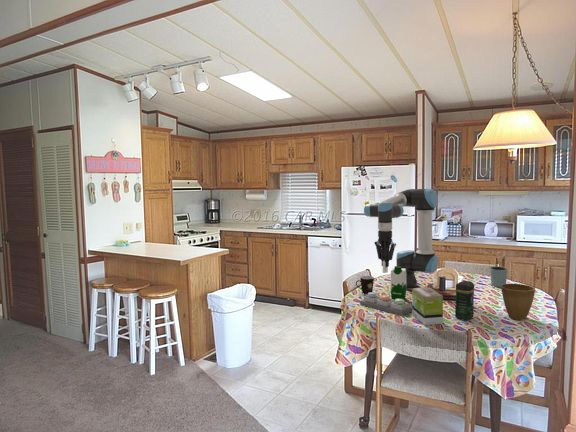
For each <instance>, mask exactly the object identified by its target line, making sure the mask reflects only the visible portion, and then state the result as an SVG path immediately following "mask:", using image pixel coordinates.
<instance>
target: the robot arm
mask: <svg viewBox="0 0 576 432" xmlns="http://www.w3.org/2000/svg"><path fill="white" fill-rule="evenodd" d="M438 205H439V195H438V194H437V191H435V189H432V188H410V189H405V190H402V191H399V192H396V193H395V194H394V195H393V196H391V197H388V198H386V199H384V200H381V201H378V202H376V203H370V204H369V203H367V204H366V205H365V206H364V208H363V214H364V216H366V217H369V218H377V220H378V221H377V236H378V239H377V240H376V241H374V245H375V249H376V253H377V259H378V260H381V267H382V273H383V274H386V273H388V271H389V269H388V268H389V266H390V261H392V260H393V257H394V252H395V248H396V247H397V243H395V242H393V231H392V230H393V219H399V218H400V217H402V216H403V215H404V208H405V207H408V208H409V207H410V208H411V207H412V208H415V209H414V210H415V211H416V212H417V245H418V246H417V250H416V251H415V250H401V251H397V253H396V257H395V260H396V266H401V267H402V268H404V269H406V289H409V288H411V289H412V288H416V287H417V286H418V281H417V276H416V274H415V272H419V273H425V274H433V273H435V272H436V271H437V269H438V265H439V257H438V255H436V254H435V253H436V252H435V251H434V250H433V212H434V211H435V208H437V206H438Z"/></svg>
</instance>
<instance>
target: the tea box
mask: <svg viewBox="0 0 576 432" xmlns="http://www.w3.org/2000/svg"><path fill="white" fill-rule="evenodd" d="M411 289H412V290H411V291H412V292H411V295H412V299H411V300H412V302H411V304H412V306H411V307H412V313H411V314H412V316H413V317H414V318H416V320H417V321H419V322H420V323H421V324H422V325H424V326H431V325H432V326H433V325H442V324H444V295H442V294H441V293H439V292H438V291H436V290H435V289H433V288H431V287H419V288H416V287H412V288H411Z"/></svg>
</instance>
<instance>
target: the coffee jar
mask: <svg viewBox="0 0 576 432" xmlns="http://www.w3.org/2000/svg"><path fill="white" fill-rule="evenodd" d="M474 294H475V284H474V283H473V282H472V281H469V280H462V281H459V282H457V283H456V285H455V309H454V311H455V312H454V316H455V317H456V318H457V319H459V320H462V319H464V320H467V321H469V320H472V319H473V318H474V316H475V315H474V313H475V309H474V303H475V301H474V298H475V297H474V296H475V295H474Z"/></svg>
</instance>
